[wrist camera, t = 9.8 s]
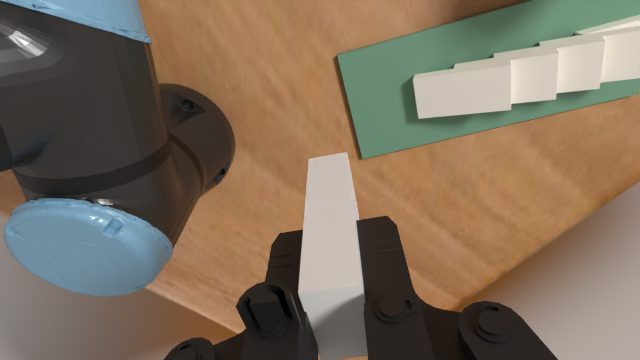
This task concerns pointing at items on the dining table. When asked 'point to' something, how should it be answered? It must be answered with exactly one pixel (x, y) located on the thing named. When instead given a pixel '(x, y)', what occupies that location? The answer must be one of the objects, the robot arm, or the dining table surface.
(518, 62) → the domino
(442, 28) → the felt mat
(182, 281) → the dining table surface
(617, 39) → the domino
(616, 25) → the domino
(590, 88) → the domino
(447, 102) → the domino
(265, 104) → the dining table surface
